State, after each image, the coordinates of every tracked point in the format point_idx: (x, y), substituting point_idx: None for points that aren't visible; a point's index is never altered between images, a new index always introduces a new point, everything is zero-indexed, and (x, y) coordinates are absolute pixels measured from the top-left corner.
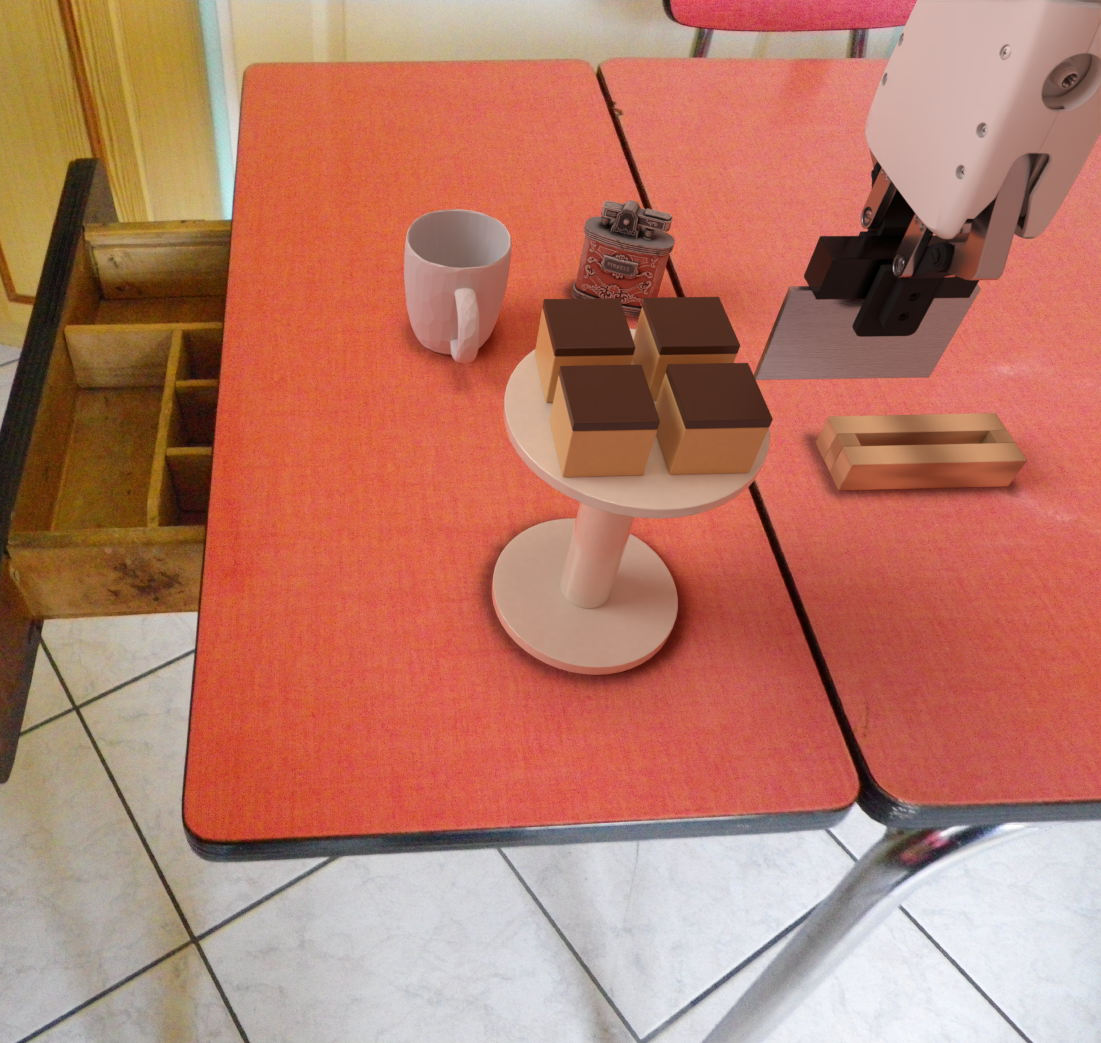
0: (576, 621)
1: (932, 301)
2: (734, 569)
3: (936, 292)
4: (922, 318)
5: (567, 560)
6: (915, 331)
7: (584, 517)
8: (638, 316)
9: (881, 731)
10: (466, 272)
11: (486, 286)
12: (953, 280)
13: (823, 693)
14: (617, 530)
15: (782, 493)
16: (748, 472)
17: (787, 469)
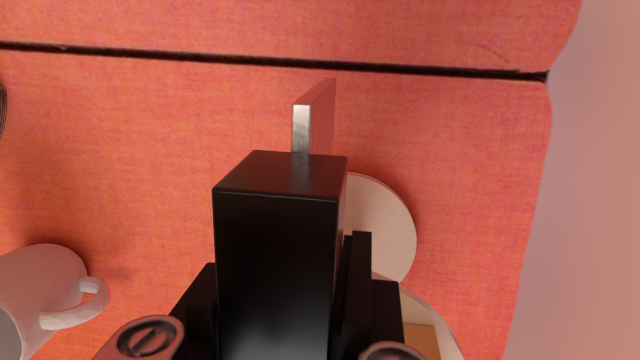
0: (373, 256)
1: (371, 269)
2: None
3: (370, 284)
4: (370, 247)
5: None
6: (371, 232)
7: None
8: (6, 99)
9: (507, 43)
10: (25, 335)
11: (32, 304)
12: (340, 240)
13: (461, 80)
14: None
15: (241, 32)
16: (434, 328)
17: (210, 14)
